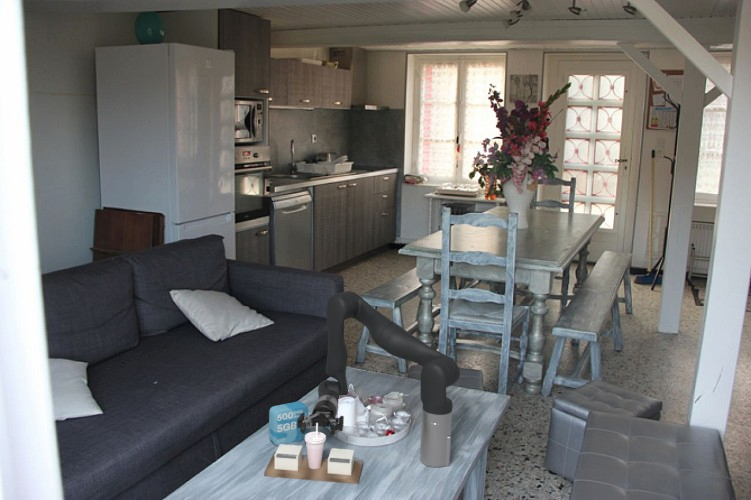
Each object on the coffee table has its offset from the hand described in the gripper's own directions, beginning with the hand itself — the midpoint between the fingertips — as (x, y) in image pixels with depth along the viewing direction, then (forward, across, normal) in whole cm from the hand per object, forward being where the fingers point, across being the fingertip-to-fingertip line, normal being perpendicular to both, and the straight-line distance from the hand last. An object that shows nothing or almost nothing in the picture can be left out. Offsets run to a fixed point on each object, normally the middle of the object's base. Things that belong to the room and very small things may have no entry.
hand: (316, 432), depth 210 cm
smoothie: (+2, 0, +10) cm, 10 cm away
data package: (-16, -12, +11) cm, 23 cm away
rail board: (+3, 0, +11) cm, 11 cm away
